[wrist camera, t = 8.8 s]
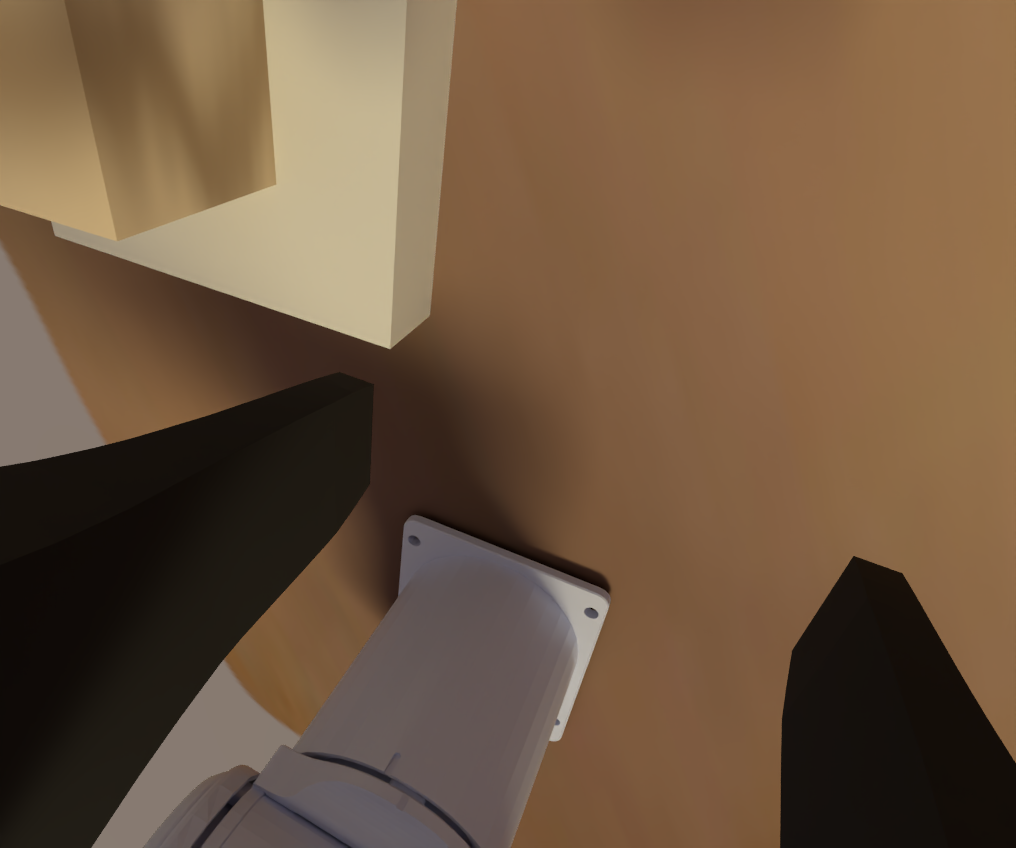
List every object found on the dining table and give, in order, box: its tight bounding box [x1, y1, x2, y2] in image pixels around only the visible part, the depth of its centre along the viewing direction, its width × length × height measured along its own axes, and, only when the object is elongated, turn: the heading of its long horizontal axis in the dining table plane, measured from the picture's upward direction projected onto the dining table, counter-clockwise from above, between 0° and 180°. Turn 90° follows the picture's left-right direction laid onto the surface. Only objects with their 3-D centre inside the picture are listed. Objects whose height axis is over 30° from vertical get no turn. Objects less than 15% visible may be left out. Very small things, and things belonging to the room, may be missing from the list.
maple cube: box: [0, 0, 276, 241], centre depth 15 cm, size 5×5×5 cm
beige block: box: [51, 0, 457, 349], centre depth 18 cm, size 12×12×3 cm
